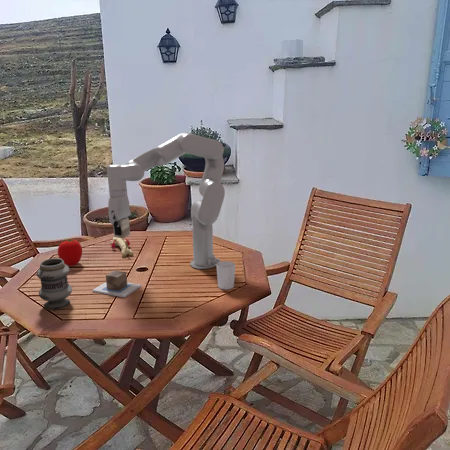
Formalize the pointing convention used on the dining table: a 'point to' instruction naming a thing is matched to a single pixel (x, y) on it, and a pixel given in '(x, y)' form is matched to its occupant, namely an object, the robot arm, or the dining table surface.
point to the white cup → (225, 274)
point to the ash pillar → (123, 228)
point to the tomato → (70, 252)
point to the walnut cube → (116, 280)
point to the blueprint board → (121, 293)
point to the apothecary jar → (54, 283)
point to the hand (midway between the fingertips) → (122, 232)
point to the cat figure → (122, 246)
